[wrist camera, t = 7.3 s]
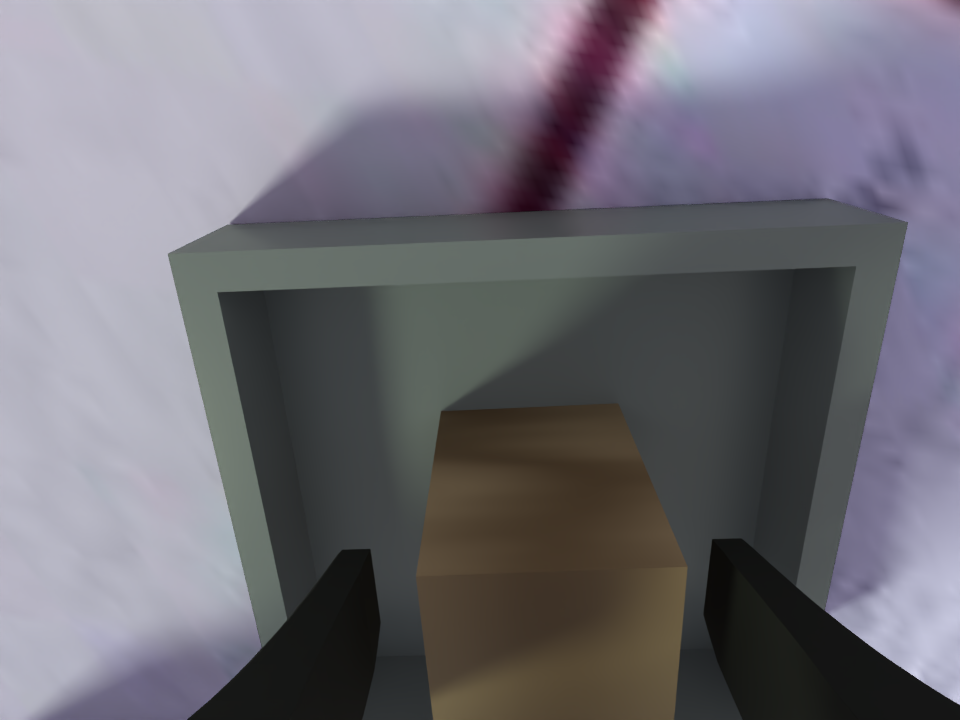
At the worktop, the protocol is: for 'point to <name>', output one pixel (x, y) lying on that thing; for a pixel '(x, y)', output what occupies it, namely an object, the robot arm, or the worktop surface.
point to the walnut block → (547, 570)
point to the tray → (537, 384)
